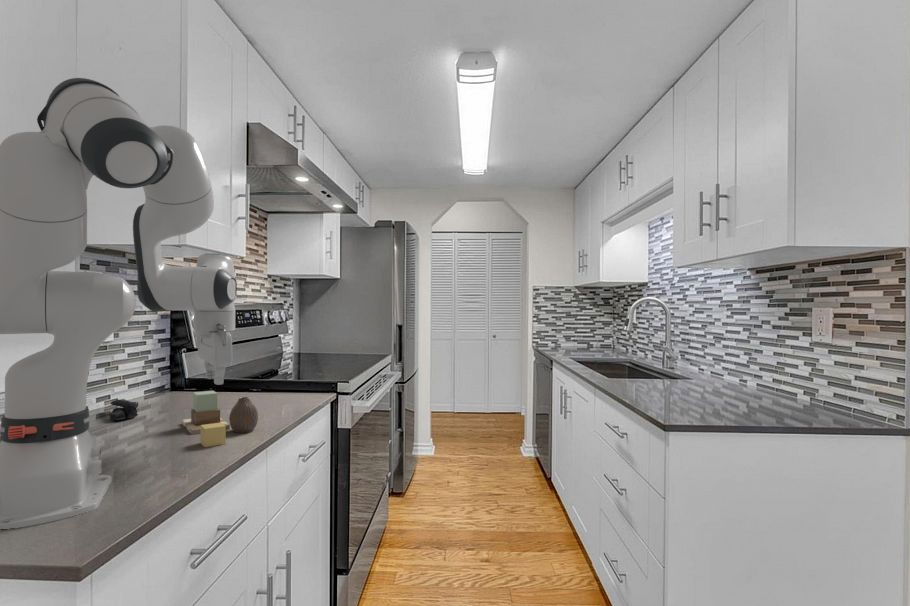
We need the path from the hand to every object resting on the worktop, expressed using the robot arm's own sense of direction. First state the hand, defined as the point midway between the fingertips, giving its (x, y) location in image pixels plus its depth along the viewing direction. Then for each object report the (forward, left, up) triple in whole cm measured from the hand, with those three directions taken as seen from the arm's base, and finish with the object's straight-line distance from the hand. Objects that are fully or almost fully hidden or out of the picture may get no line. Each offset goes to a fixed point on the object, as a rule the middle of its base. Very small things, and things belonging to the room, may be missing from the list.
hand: (214, 381), depth 118 cm
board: (+19, -2, -15) cm, 24 cm away
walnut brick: (+19, -2, -14) cm, 23 cm away
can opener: (+47, +15, -15) cm, 52 cm away
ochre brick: (0, 0, -15) cm, 15 cm away
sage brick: (+19, -2, -10) cm, 21 cm away
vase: (+8, -9, -15) cm, 19 cm away
